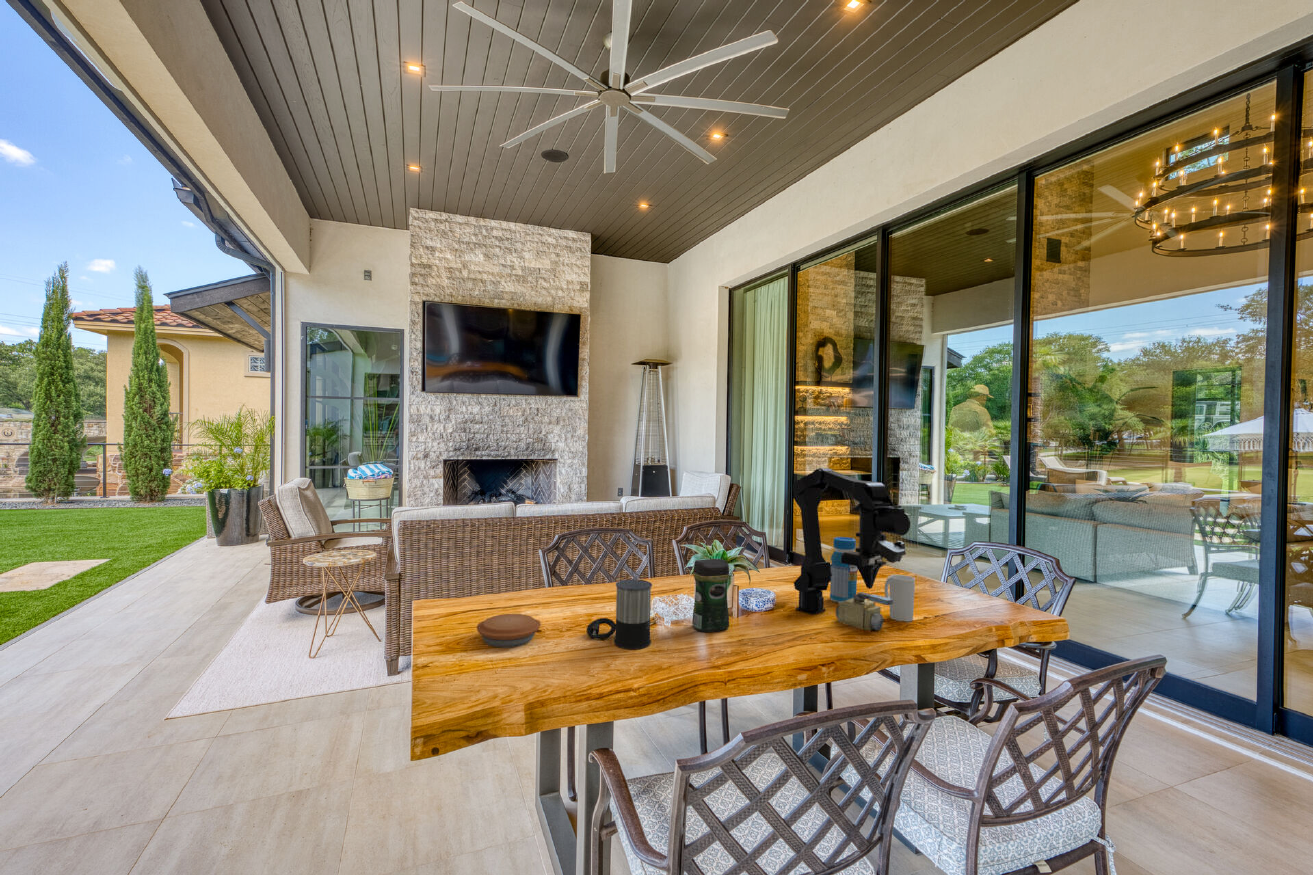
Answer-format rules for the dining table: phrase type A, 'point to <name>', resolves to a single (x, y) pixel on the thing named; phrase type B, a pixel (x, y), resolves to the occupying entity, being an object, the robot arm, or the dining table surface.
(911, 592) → the mug
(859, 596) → the lever
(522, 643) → the pie
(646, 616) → the milk frother
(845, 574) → the beverage bottle
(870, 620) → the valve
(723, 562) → the coffee jar
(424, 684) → the dining table surface
